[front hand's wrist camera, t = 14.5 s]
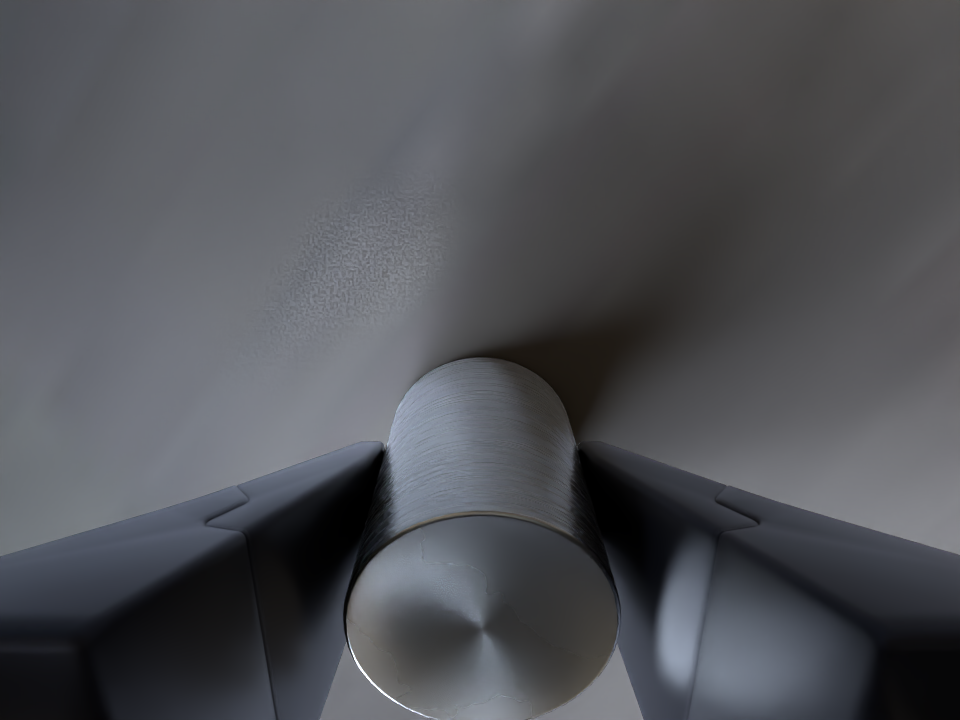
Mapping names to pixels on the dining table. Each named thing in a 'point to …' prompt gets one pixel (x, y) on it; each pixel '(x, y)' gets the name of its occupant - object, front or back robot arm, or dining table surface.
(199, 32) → the dining table surface
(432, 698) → the can
